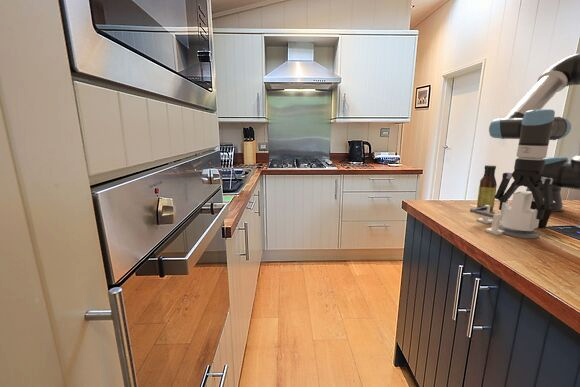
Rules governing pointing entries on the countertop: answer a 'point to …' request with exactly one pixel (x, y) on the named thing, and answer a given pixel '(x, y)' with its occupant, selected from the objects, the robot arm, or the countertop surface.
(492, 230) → the wire posts
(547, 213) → the coffee mug
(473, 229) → the countertop surface
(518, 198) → the base with upright slab
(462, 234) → the countertop surface
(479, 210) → the bent wire
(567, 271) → the countertop surface
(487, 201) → the sauce bottle
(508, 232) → the coaster
